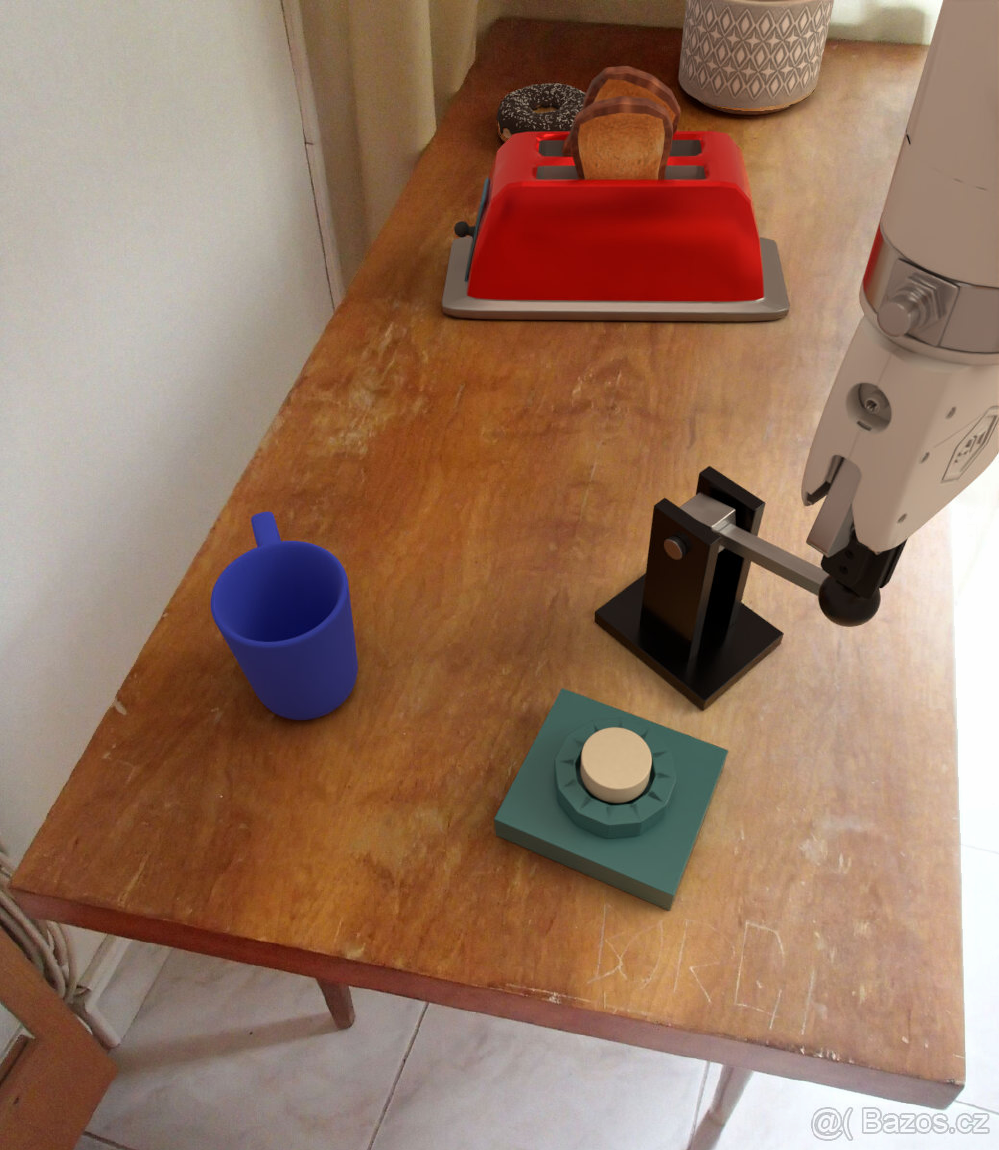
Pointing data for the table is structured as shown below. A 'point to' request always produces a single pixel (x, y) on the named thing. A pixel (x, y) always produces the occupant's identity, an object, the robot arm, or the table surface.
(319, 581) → the mug
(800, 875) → the table surface
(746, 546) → the lever
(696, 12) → the planter
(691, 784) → the button block
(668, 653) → the bracket
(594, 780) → the button
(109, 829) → the table surface
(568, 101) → the donut
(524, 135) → the toaster
